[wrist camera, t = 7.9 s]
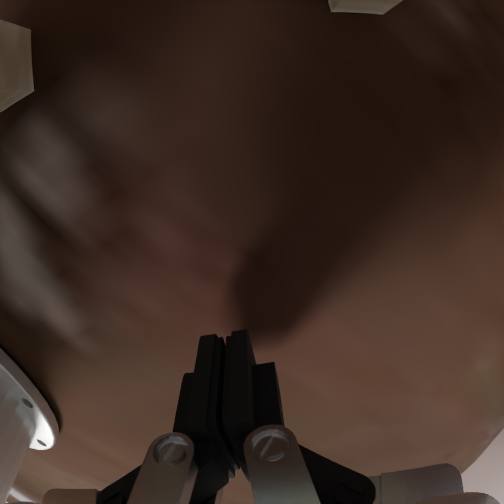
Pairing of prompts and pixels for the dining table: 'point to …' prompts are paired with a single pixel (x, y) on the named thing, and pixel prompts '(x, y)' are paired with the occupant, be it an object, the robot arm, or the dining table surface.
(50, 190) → the dining table surface
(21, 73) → the bridge
